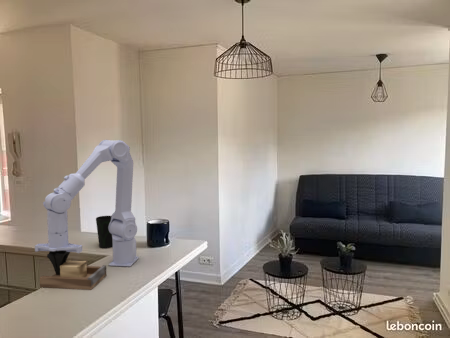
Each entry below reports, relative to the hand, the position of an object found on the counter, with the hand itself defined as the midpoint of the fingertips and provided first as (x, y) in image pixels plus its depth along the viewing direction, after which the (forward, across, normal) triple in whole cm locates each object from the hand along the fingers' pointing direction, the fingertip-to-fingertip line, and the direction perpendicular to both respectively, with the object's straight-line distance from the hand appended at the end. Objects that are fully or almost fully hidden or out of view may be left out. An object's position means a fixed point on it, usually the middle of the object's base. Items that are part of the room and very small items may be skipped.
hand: (59, 273), depth 117 cm
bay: (+2, +5, 0) cm, 5 cm away
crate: (+1, +5, 0) cm, 5 cm away
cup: (+2, 0, +36) cm, 36 cm away
